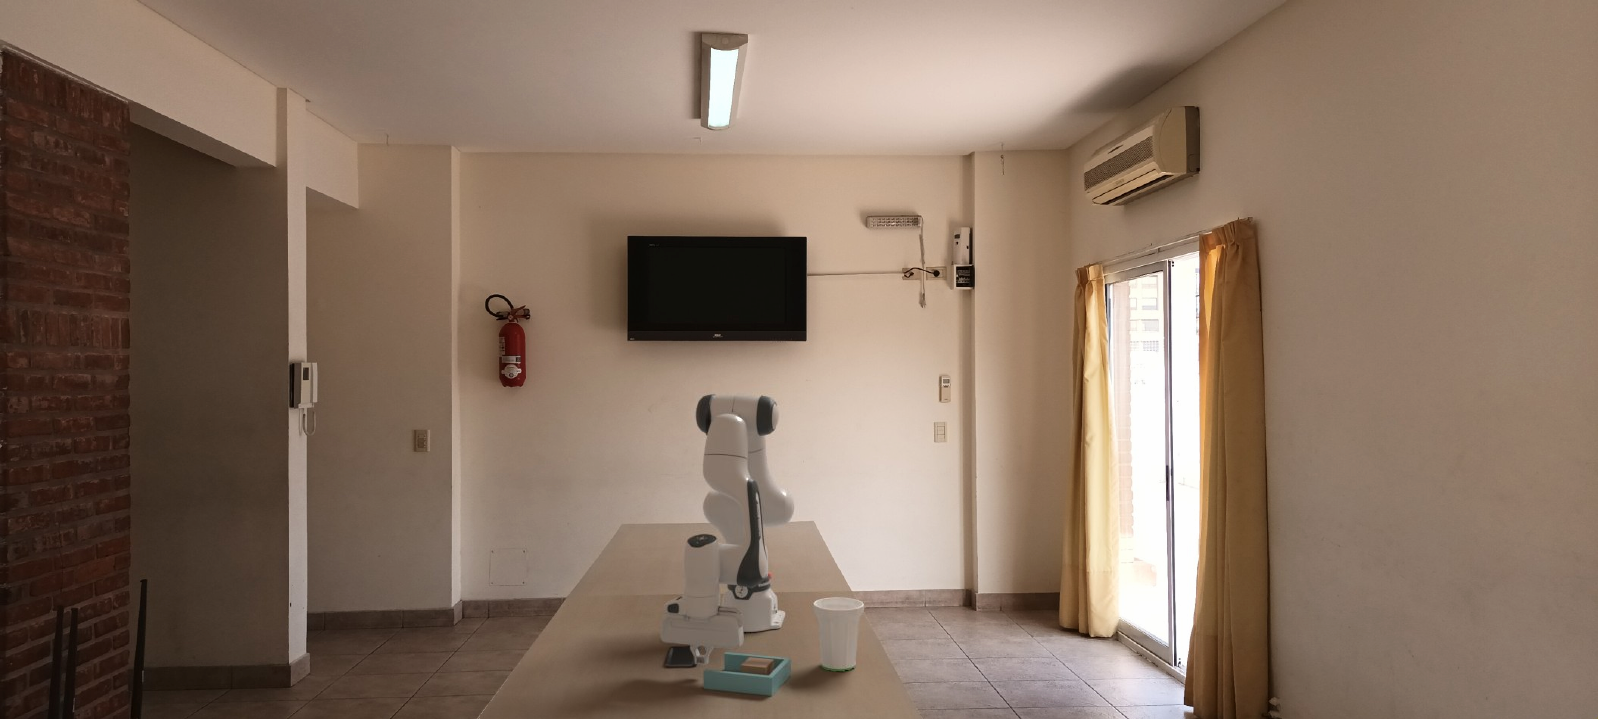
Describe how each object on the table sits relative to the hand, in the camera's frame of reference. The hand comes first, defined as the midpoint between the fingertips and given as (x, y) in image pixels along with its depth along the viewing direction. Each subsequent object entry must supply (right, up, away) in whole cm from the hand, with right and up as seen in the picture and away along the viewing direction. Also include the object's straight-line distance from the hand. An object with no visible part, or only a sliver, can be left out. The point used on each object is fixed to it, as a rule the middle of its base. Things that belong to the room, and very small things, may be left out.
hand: (701, 663), depth 217 cm
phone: (-6, -4, +14) cm, 16 cm away
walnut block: (+13, -3, -5) cm, 15 cm away
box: (+11, -3, -4) cm, 12 cm away
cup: (+33, -3, +8) cm, 34 cm away
